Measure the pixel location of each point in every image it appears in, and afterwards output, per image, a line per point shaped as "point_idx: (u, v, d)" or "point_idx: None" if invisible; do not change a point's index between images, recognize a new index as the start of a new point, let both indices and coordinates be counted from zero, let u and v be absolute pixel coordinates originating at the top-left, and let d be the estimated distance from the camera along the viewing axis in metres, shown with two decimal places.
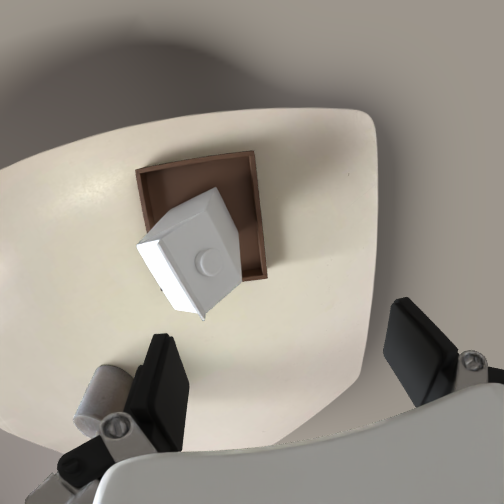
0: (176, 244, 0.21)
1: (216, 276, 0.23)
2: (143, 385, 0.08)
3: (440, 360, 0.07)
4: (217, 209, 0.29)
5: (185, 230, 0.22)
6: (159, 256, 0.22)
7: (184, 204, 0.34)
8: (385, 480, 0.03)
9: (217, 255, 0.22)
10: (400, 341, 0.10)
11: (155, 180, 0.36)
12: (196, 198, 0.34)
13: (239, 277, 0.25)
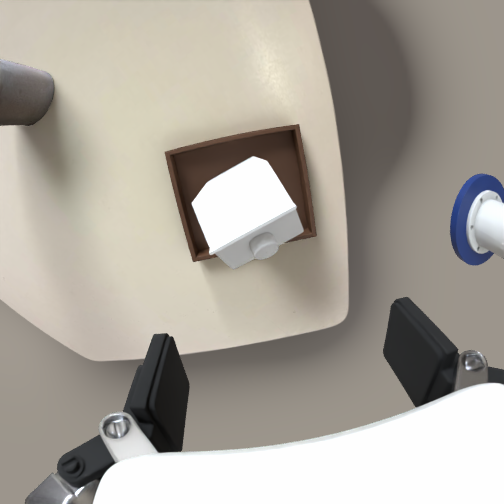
0: (284, 216, 0.22)
1: (245, 251, 0.23)
2: (143, 385, 0.08)
3: (440, 360, 0.07)
4: None
5: (293, 221, 0.23)
6: (268, 196, 0.21)
7: None
8: (385, 480, 0.03)
9: (271, 253, 0.23)
10: (400, 341, 0.10)
11: (282, 140, 0.36)
12: None
13: (237, 266, 0.25)
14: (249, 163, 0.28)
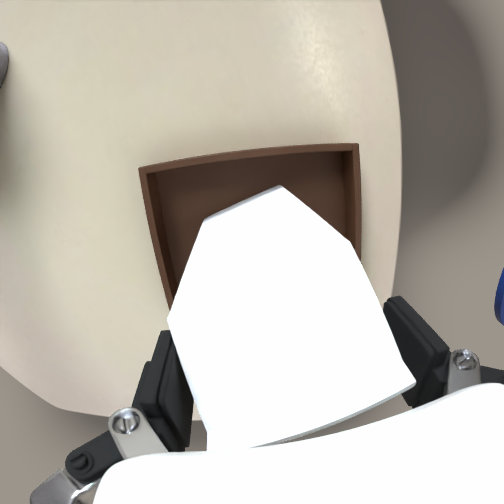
0: None
1: None
2: (152, 380, 0.08)
3: (431, 359, 0.07)
4: None
5: None
6: (350, 339, 0.08)
7: None
8: (385, 480, 0.03)
9: None
10: None
11: (327, 165, 0.23)
12: None
13: None
14: (288, 215, 0.15)
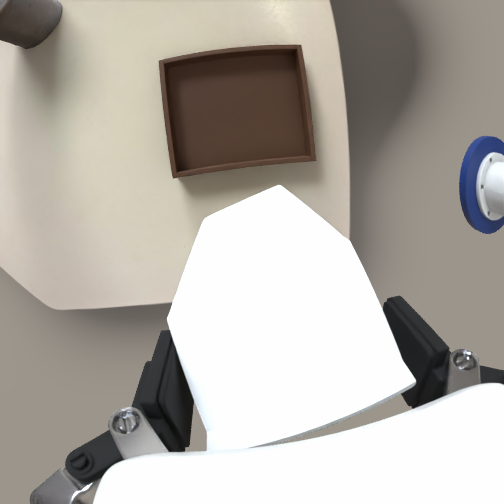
0: None
1: None
2: (152, 380, 0.08)
3: (431, 358, 0.07)
4: None
5: None
6: (350, 339, 0.08)
7: None
8: (385, 480, 0.03)
9: None
10: None
11: (283, 63, 0.30)
12: None
13: None
14: (288, 215, 0.15)
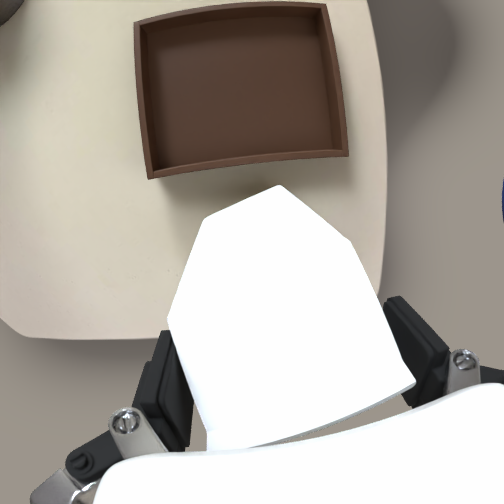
0: None
1: None
2: (152, 380, 0.08)
3: (431, 358, 0.07)
4: None
5: None
6: (350, 339, 0.08)
7: None
8: (385, 480, 0.03)
9: None
10: None
11: (301, 27, 0.20)
12: None
13: None
14: (288, 215, 0.15)
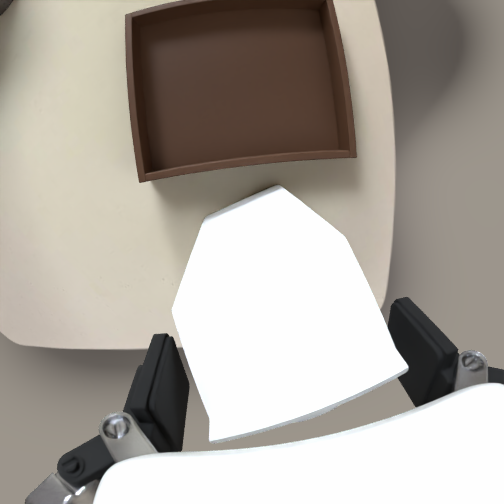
0: None
1: None
2: (143, 385, 0.08)
3: (440, 360, 0.07)
4: None
5: None
6: (345, 327, 0.09)
7: None
8: (385, 480, 0.03)
9: None
10: (400, 341, 0.10)
11: (305, 19, 0.18)
12: None
13: None
14: (286, 212, 0.15)
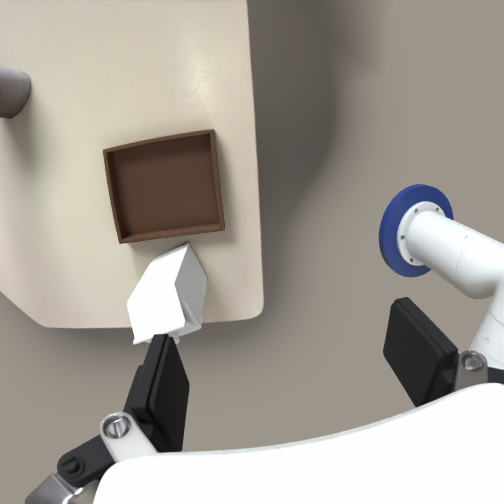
0: None
1: None
2: (143, 385, 0.08)
3: (440, 360, 0.07)
4: None
5: (189, 326, 0.32)
6: (170, 312, 0.31)
7: (195, 264, 0.44)
8: (385, 480, 0.03)
9: (175, 343, 0.33)
10: (400, 341, 0.10)
11: (202, 143, 0.40)
12: (199, 273, 0.44)
13: None
14: (172, 267, 0.37)
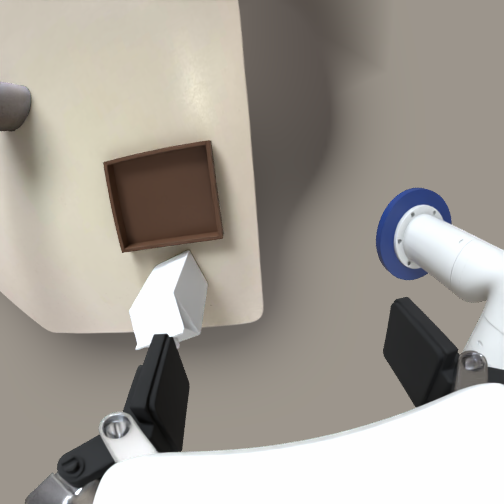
0: None
1: None
2: (143, 385, 0.08)
3: (440, 360, 0.07)
4: None
5: (188, 332, 0.34)
6: (170, 319, 0.33)
7: (195, 271, 0.45)
8: (385, 480, 0.03)
9: None
10: (400, 341, 0.10)
11: (199, 154, 0.42)
12: (200, 280, 0.46)
13: None
14: (172, 276, 0.39)
